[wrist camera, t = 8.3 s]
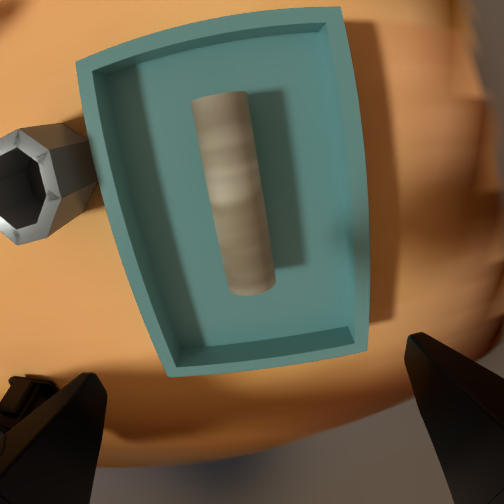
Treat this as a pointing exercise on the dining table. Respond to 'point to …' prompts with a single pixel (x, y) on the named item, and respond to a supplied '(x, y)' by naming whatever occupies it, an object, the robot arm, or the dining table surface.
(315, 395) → the dining table surface
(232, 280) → the birch pin
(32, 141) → the grey cup
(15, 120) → the dining table surface
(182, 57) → the teal tray
